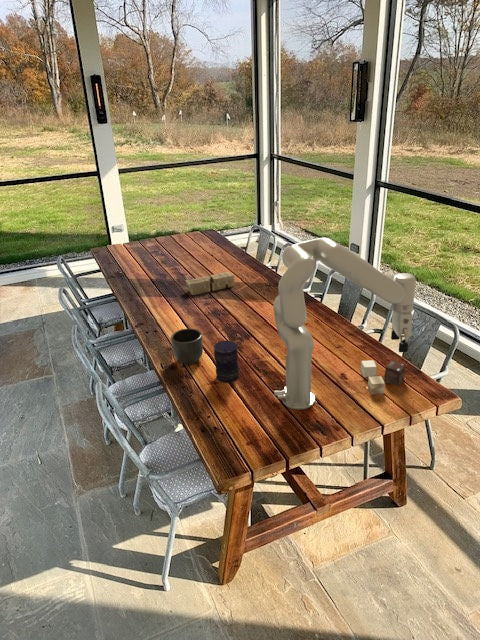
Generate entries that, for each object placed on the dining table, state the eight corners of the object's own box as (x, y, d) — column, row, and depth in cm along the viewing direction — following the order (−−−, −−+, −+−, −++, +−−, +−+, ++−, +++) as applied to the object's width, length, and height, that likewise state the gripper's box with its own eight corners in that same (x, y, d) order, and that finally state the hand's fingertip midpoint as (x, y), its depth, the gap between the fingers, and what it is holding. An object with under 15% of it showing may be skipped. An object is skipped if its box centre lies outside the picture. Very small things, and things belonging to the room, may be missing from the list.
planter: (170, 357, 215) (167, 332, 209) (198, 349, 220) (196, 325, 214) (179, 371, 204) (175, 346, 198) (208, 363, 208) (206, 338, 202)
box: (389, 375, 192) (391, 360, 189) (404, 379, 189) (406, 364, 185) (383, 381, 188) (385, 366, 185) (398, 386, 184) (400, 371, 181)
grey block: (363, 377, 192) (364, 367, 189) (360, 370, 196) (361, 360, 194) (375, 376, 192) (376, 366, 189) (372, 370, 196) (373, 360, 194)
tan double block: (229, 283, 295) (186, 291, 285) (229, 271, 292) (185, 279, 282) (234, 287, 289) (190, 296, 279) (234, 275, 285) (189, 283, 275)
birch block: (370, 394, 181) (371, 384, 179) (367, 387, 185) (368, 376, 183) (383, 394, 181) (384, 383, 179) (380, 386, 185) (381, 376, 183)
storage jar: (217, 370, 203) (214, 340, 196) (239, 369, 202) (237, 340, 195) (215, 383, 194) (212, 352, 187) (239, 382, 193) (236, 352, 186)
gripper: (420, 315, 165) (416, 356, 173) (405, 295, 181) (401, 334, 189) (399, 317, 166) (396, 357, 173) (385, 297, 181) (383, 335, 189)
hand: (398, 345), depth 181 cm, fingers open, 9 cm apart
